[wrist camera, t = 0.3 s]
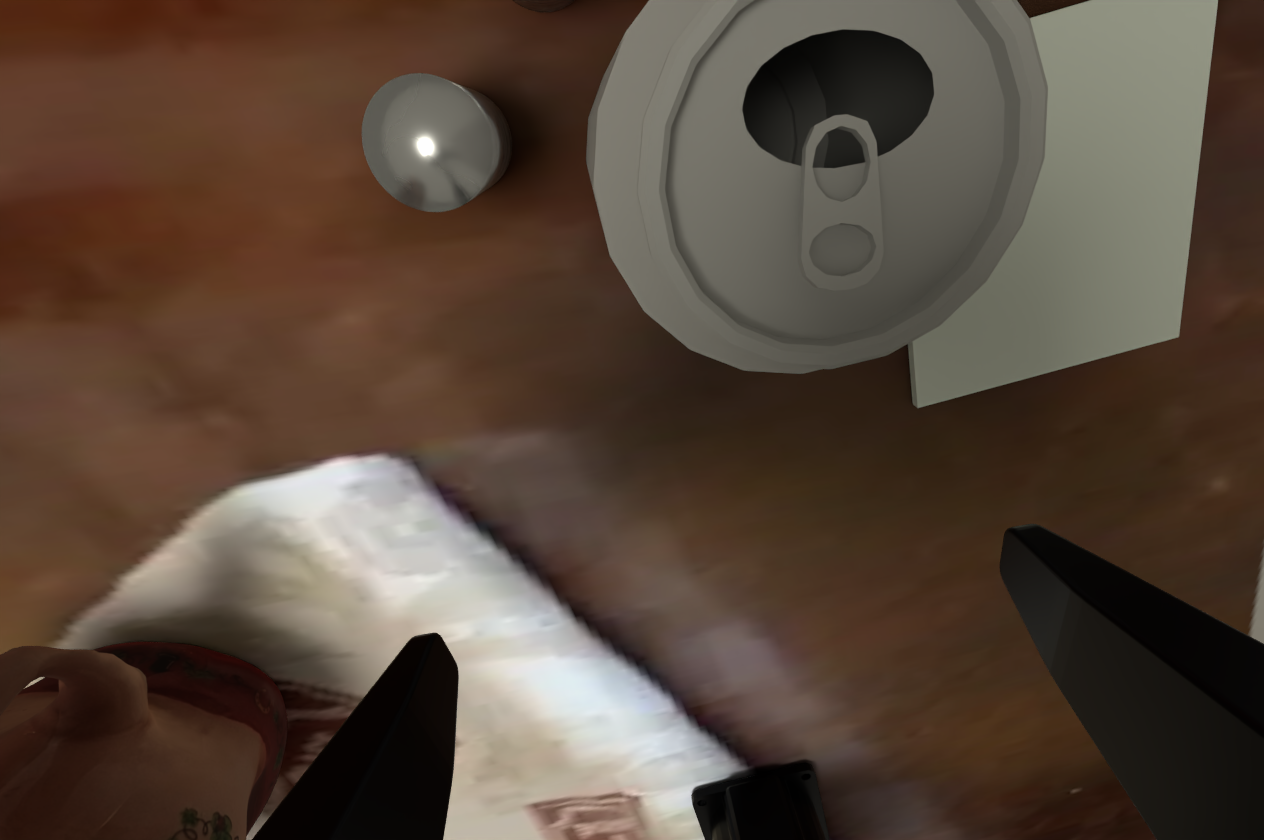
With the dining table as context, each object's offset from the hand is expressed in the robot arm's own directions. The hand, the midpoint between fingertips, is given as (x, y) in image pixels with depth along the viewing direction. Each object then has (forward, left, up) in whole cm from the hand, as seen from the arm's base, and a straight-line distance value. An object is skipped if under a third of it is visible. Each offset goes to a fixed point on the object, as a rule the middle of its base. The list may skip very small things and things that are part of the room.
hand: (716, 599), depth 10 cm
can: (+5, -4, -14) cm, 15 cm away
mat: (0, -15, -14) cm, 20 cm away
